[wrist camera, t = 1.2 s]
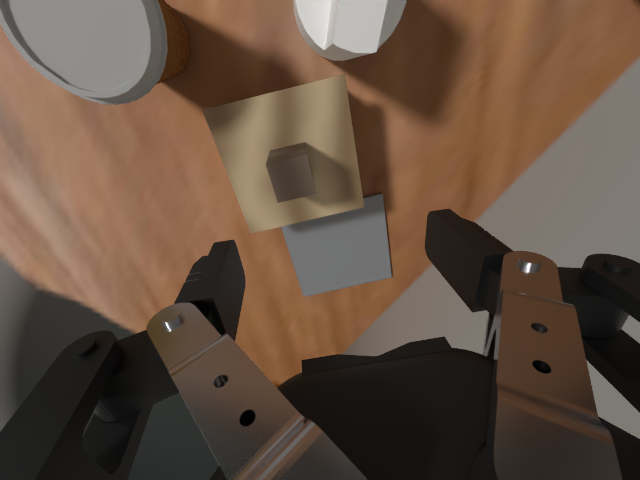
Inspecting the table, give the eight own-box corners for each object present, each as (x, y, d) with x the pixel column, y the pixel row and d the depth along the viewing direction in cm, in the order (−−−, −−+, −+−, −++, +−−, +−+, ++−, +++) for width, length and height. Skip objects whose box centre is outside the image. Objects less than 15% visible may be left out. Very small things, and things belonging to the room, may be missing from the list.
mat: (381, 193, 37) (382, 194, 37) (390, 275, 44) (391, 277, 44) (278, 217, 38) (278, 218, 37) (303, 295, 45) (303, 296, 44)
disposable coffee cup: (217, 6, 26) (169, -38, 16) (197, 110, 31) (150, 128, 20) (103, -50, 24) (-40, -144, 14) (99, 71, 28) (-13, 69, 18)
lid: (343, 74, 26) (355, 74, 21) (362, 203, 32) (375, 228, 27) (205, 108, 26) (183, 117, 21) (252, 229, 33) (244, 258, 28)
